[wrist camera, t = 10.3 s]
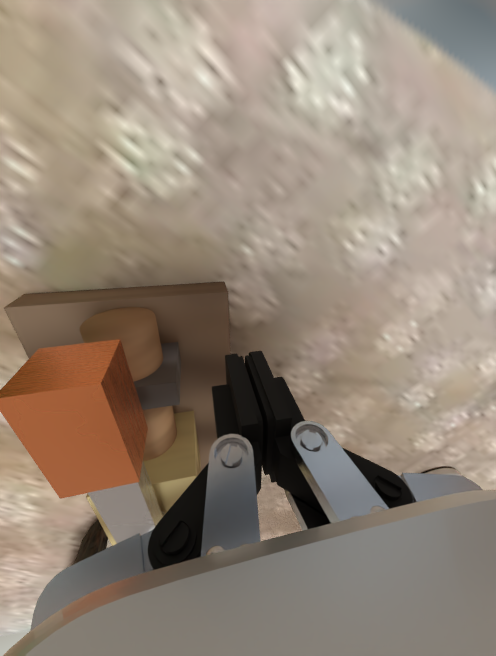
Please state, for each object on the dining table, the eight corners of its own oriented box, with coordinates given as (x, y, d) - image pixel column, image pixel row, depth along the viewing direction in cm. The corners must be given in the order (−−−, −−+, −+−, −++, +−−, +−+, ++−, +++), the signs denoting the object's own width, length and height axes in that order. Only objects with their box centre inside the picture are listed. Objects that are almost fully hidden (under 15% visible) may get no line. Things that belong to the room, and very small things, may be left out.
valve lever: (177, 522, 17) (175, 578, 14) (132, 533, 16) (122, 592, 14) (120, 337, 10) (99, 386, 7) (40, 347, 9) (-11, 401, 7)
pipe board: (232, 490, 29) (245, 570, 23) (121, 514, 27) (102, 609, 21) (224, 281, 17) (244, 333, 11) (24, 294, 15) (-86, 366, 9)
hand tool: (91, 592, 34) (78, 645, 30) (56, 595, 33) (39, 651, 29) (133, 510, 28) (124, 564, 24) (92, 509, 26) (76, 566, 22)
